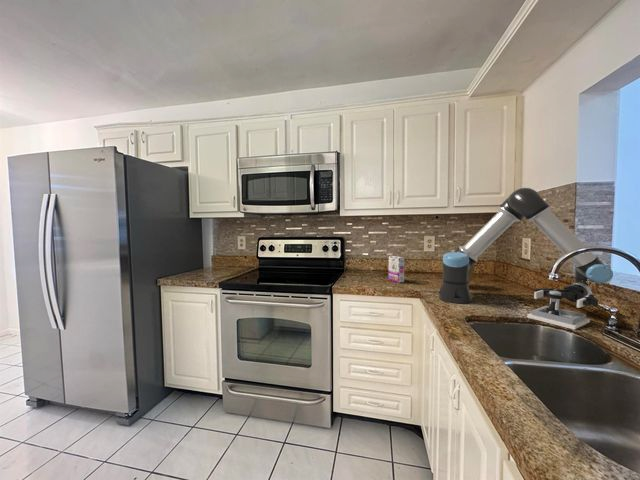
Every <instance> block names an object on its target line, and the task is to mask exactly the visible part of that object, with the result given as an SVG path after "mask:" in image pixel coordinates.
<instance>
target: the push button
mask: <svg viewBox="0 0 640 480" xmlns="http://www.w3.org/2000/svg"><path fill="white" fill-rule="evenodd" d="M546 297H547V298H548V299H549V305H548V306H549V308H546V309H545V310H546V311H545V312H547V313H549V314H553V315H557V316H560V313H561V312H560V311H559V309H560V301H561V300H563V299H564V298H563V297H564V295H562V294H561V292H558V291H550V292H548V293H547V296H546Z"/></svg>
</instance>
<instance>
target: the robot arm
mask: <svg viewBox="0 0 640 480" xmlns="http://www.w3.org/2000/svg"><path fill="white" fill-rule="evenodd" d="M550 208H551V206H550V205H549V204H548V203H547V202H546V201H545V199H543V197H542V195H540V193H538V192H537V191H536V190H535V189H533V188H530V187H522V188H518V189H515V190H514V191H513V192H512V193H511V194H509V195H508V197H507V198H506V199H505V200H504V201H503V202H502V203H501V204H500V205H499V206H498V212H496V214H494V215H493V216H492V217H491V219H490V220H489V221H487V223H486V224H484V225H483V227H481V228H480V229H479V230H478V232H477V233H475V234H474V235H473V236H472V237H471V238H470V240H469V241H468V242H466V243H465V244H464V245H461V246H458V247H457V248H456V249H455V250H454V251H450V252H446V253H444V254H443V256H442V257H443V258H442V282H441V286H440V288H439V292H438V296H437V298H438V299H439V300H441V301H444V302H448V303H453V304H468V303H471V302H472V295H471V291H470V288H469V284H468V271H469V269H470V268H471V267H472V266H473V265H474V264H475V265H476V264H477V262H478V257H479V256H480V255H481V254H482V253H483V252H484V251H485V250H486V249H487V248H488V247H490V245H492V244H493V243H494V242H495V241H496V240H497V239H498V238H499V237H500V236H501V235H503V233H505V232H506V230H508V229H509V227H511V226H512V225H513V224H514V223H517V222H521V221H522V220H523V219H524V218H525V220H527V221H529V222H532V223H533V224H534V225H535V226H536V227H537V228H538V230H540V231H541V232H542V233H543V234H544V235H545V236H546V237H547V238H548V239H549V241H550V242H552V243H553V245H554V246H556V248H558V250H559V251H561V252H562V254H563V255H564V254H565V253H567V252H569V251H572V250H575V249H578V248H584V247H587V246H586V245H585V244H584V243H583V242H582V241H581V240H580V239H579V237H577V236H576V234H574V233H573V232H572V231H571V230H570V228H568V227H567V226H566V225H565V224H564V223H563V222H562V221H561V220H560V219H559V218H558V217H557V216H556V215H555V214H554V213H553V212H552V211H551V209H550ZM568 260H569V261H570V262H571V263H572V264H573V265H574V268H575V269H574V283H571V284H568V285H566V286H565V287H564V288H561V289H560V288H559V289H558V288H557V289H556V288H555V287H550V288H534V293H533V299H535V300H538V299H540V298H544V297H547V293H548V292H550V291H558V292H561V294H562V295H564V297H563V299H565V300H566V301H569V302H571V303H576V308H578V309H579V308H582V307H585V306H591V305H592V306H593V307H598V306H599V299H597V297H596V296H595V297H594V295H592V291H591V288H590V287H589V286H588V284H587V283H586V281H587V279H589V280H590V281H592V282H596V283H598V284H604V283H608V282H610V281H611V280H612V279H613V277H614V272H613V270H612V268H611V267H610V266H608V265H606V264H604V263H603V262H602V261H601V260H600V257H599V256H598V255H595V254H594V253H593V252H592V251H591V252H589V253H584V254H580V255H578V256H575V257H573V258H571V259H568ZM475 265H474V266H475ZM582 280H583V281H582ZM597 305H598V306H597Z"/></svg>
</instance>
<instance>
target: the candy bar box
mask: <svg viewBox="0 0 640 480" xmlns="http://www.w3.org/2000/svg"><path fill="white" fill-rule="evenodd" d="M405 260H406V257H403V256H397V255H390V256H388V268H387V269H388V273H387V275H388V276H387V277H388V281H391V282H394V283H398V284H403V283H405V268H406V267H405V265H406V261H405Z"/></svg>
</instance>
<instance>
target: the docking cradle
mask: <svg viewBox="0 0 640 480" xmlns="http://www.w3.org/2000/svg"><path fill="white" fill-rule="evenodd" d="M549 306H550V305H544V306H541V307H539V308H535V309H532V310H531V312H530V313H527V316H526V317H527V318H528V319H531V320H536V321H539V322H544V323H548V324H551V325H555V326H559V327H563V328H567V329H571V330H577V329H579V328H581V327H583V326H585V325H587V324H589V323H590V322H591V319H590V318H587V314H586V313H583V312H582V313H581V312H577V311H574V310H573V311H572V310H568V309H562V308H559V311H560V312H561V313H560V316H557V315H553V314H549V313H547V312H545V311H546V310H545V309H546V308H549Z"/></svg>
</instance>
